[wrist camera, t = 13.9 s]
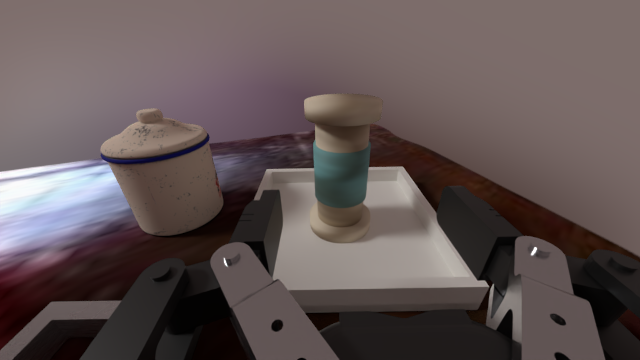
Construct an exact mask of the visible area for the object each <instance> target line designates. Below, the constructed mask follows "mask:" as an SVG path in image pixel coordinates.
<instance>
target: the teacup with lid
mask: <svg viewBox="0 0 640 360" xmlns="http://www.w3.org/2000/svg"><path fill="white" fill-rule="evenodd" d="M136 116H137V119H138V120H139V122H136V123H133V124H131V125H130V126H128V127H127V128H126V129H125V130H124V131H123V132H122V133H121V134H119V135H116V136H114V137H112V138H110V139H108V140H107V141H105V142H104V143H103V145H102V147H101V157H102V159H103V160H105V161H107V162H108V163H109V165H110V167H111V169H112V171H113V173H114V175H115V177H116V179H117V181H118V183H119V185H120V187H121V189H122V191H123V193H124V195H125V197H126V199H127V201H128V203H129V205H130V207H131V209H132V211H133V213H134V215H135V217H136V219H137V221H138V223H139V225H140V227H141V228H142V230H144V231H145V232H147V233H149V234H152V235H157V236H170V235H177V234H181V233H185V232H188V231H191V230H194V229H196V228H198V227H201V226H202V225H204V224H206V223H208V222H209V221H210V220H212V219H213V218H214V217H215V216H216V215H217V214H218V213H219V212H220V210H221V209H222V206H223V197H222V193H221V189H220V185H219V181H218V177H217V174H216V170H215V166H214V162H213V158H212V154H211V151H210V147H209V143H208V141H209V135H208V133H207V132H206V130H205V129H204V128H202V127H201V126H198V125H194V124H185V123H182V122H180V121H177V120H174V119H169V118H163V115H162V113H161V111H160V110H159V109H144V110H140V111H138V112H137V113H136Z"/></svg>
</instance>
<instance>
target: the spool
mask: <svg viewBox="0 0 640 360" xmlns="http://www.w3.org/2000/svg"><path fill="white" fill-rule="evenodd" d="M382 105H383V100H382V99H380V98H378V97H375V96H369V95H360V94H326V95H318V96H313V97H310V98H307V99H305V101H304V107H305V118H306V119H307V120H308V121H310V122H312V123H315V135H316V140H315V141H314V143H313V147H314V177H315V196H316V198H317V203H315V204H314V205H313V206H312V208H311V210H310V226H311V229H312V231H313V232H314V233H315V235H317V236H318V237H319V238H321V239H323V240H325V241H328V242H332V243H351V242H354V241H357V240H359V239H361V238H362V237H364V236H365V235H366V233H367V232H368V230H369V226H370V211H369V209H368V208H367V207H366V206H365V205H364V204H363V201H364V200H365V198H366V190H367V180H368V169H369V158H370V147H371V143H370V142H369V130H370V124H371V123H374V122H376V121H379V120H380V119H381V114H382Z"/></svg>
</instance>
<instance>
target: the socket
mask: <svg viewBox="0 0 640 360" xmlns="http://www.w3.org/2000/svg"><path fill="white" fill-rule="evenodd" d="M120 302H121V301H70V302H51V303H50V304H49V305H48V306H47V307H45V308H44V309H43V310H42V311H41V312H40V313H39V314H38V315H37V316H36V317H35V318H34V319H33V320H32V321H31V322H30V323H29V324H27V325H26V326H25V327H24V328H23V329H22V330H21V331H20V332H19V333H18V334H17V335H16V336H15V337H14V338H13V339H12V340H11V341H9V342H8V343H7V344H6V345H5V346H4V347H3V348H2V349H1V350H0V360H50V359H51V358H52V357H53V356H54V354H55V353H56V352H57V351H58V350H59V349H60V347H61V346H62V345H63V344H64V343H65V342H66V341H67V339H68V338H77V337H96V336H97V334H98V333H99V332H100V330H101V329H102V327H103V326H104V325H105V323H106V322H107V320H108V319H109V318H110V316H111V315H112V313H113V312H114V311H115V309H116V308H117V306H118V305H119V304H120Z"/></svg>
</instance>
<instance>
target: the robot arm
mask: <svg viewBox="0 0 640 360" xmlns="http://www.w3.org/2000/svg"><path fill="white" fill-rule="evenodd" d="M437 222H438V224H439V226H440V227H441V229H442V230H443V232H444V233H445V235H446V236H447V237H448V239H449V240H450V242H451V243H452V245H453V246H454V248H455V249H456V250H457V252H458V253H459V255H460V256H461V258H462V259H463V260H464V262H465V263H466V265H467V266H468V268H469V269H470V270H471V272H472V273H473V275H474V276H475V278H476V279H477V281H484V280H491V281H492V282H493V285H492V287H491V290H490V297H489V305H488V313H487V321H486V325H483V324H481V323H478V322H475V321H471V320H470V318H469V316H468V314H467V313H466V311H465V309H442V310H431V311H428V312H425V313H422V314H419V315H415V316H412V317H409V318H398V317H394V316H390V315H385V314H381V313H376V312H372V311H350V312H339V322H337V323H334V324H332V325H330V326H328V327H326V328H324V329H323V330H321V331H318V330H317V329H316V327H315V326H314V325H313V323H312V322H311V321H310V319H309V318H308V317H307V315H306V314H305V313H304V311H303V310H302V309H301V307H300V306H299V304H298V303H297V302H296V300H295V299H294V298H293V296H292V295H291V294H290V292H289V291H288V290H287V288H286V287H285V286H284V284H283V283H282V282H281V281H280V280H279V279H276V280H275V281H274V280H273V274H274V268H275V263H276V258H277V253H278V248H279V243H280V238H281V233H282V227H283V213H282V205H281V196H280V191H279V190H263V192H262V195H261V197H260V200H252V201H251V202H250V203H249V204H248V205H247V206H246V207H245V209H244V211H243V213H242V215H241V217H240V219H239V222H238V224H237V226H236V228H235V230H234V232H233V235H232V237H231V239H230V241H229V243H228V244H227V245H224V246H222V247H221V248H219V249H218V250H217V251H216V252H215V253H214V254H213V256H212V258H211V259H210V260H208V261H205V262H201V263H198V264H194V265H190V266H185V264H184V262H183V261H182V260H180V259H178V258H168V259H164V260H161V261H158V262H156V263H154V264H152V265H151V266H149V267H148V268H147V269H145V270H144V271H143V272H142V273H141V275H140V276H139V277H138V279H137V280H136V281H135V283H134V284H133V285H132V287H131V288H130V290H129V291H128V292H127V294H126V295H125V297H124V298H123V299H122V301H121V302H120V304H119V305H118V306H117V308H116V309H115V311H114V312H113V313H112V315H111V316H110V318H109V319H108V320H107V322H106V323H105V325H104V326H103V327H102V329H101V330H100V332H99V333H98V334H97V336H96V337H95V338H94V340H93V341H92V343H91V344H90V345H89V347H88V348H87V350H86V351H85V352H84V354H83V355H82V357H81V358H80V359H79V360H191V359H192V356H193V353H194V351H195V348H196V345H197V342H198V339H199V336H200V334H201V331H202V328H203V325H204V324H207V323H210V322H213V321H216V320H219V319H222V318H225V317H228V316H229V318H230V320H231V323H232V325H233V327H234V329H235V332H236V334H237V336H238V338H239V341H240V343H241V345H242V347H243V350H244V352H245V354H246V357H247V359H248V360H640V341H639V340H638V339H637V338H636V337H635V336H634V335H633V334H632V333H631V332H630V331H629V330H628V329H627V328H625V327H624V326H623V325H622V324H621V323H620V322H619V321H618V320H617V319H618V318H619V317H620V316H621V315H622V314H623V313H624V312H625V311H626V310H627V309H630V310H631V311H632V312H633V313H634V314H635V315H636V316H638V317H639V318H640V263H639V262H637V261H636V260H634V259H632V258H630V257H627V256H625V255H622V254H620V253H616V252H613V251H608V250H595V251H593V252H592V253H591V255H590V256H589V257H588V259H587V260H586V259H580V258H575V257H570V256H565V255H564V254H563V252H562V251H561V250H559V249H558V248H557V247H555V246H554V245H552V244H550V243H548V242H546V241H544V240H542V239H539V238H535V237H530V236H523V235H522V234H521V233H520V232H519V231H518V230H517V229H516V228H515V227H513V226H512V225H511V224H510V223H509V222H508V221H507V220H506V219H505V218H503V217H501V215H500V214H499V213H498V212H497V211H494V209H493V208H492V207H491V206H490V205H489V204H488V203H487V202H485V201H483V200H482V199H480V198H478V197H476V196H474V195H473V194H472V193H471V192H470V191H468V190H467V189H466V188H465V187H464V186H446V187H445V188H444V189H443V192H442V195H441V199H440V202H439V206H438V210H437Z"/></svg>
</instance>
